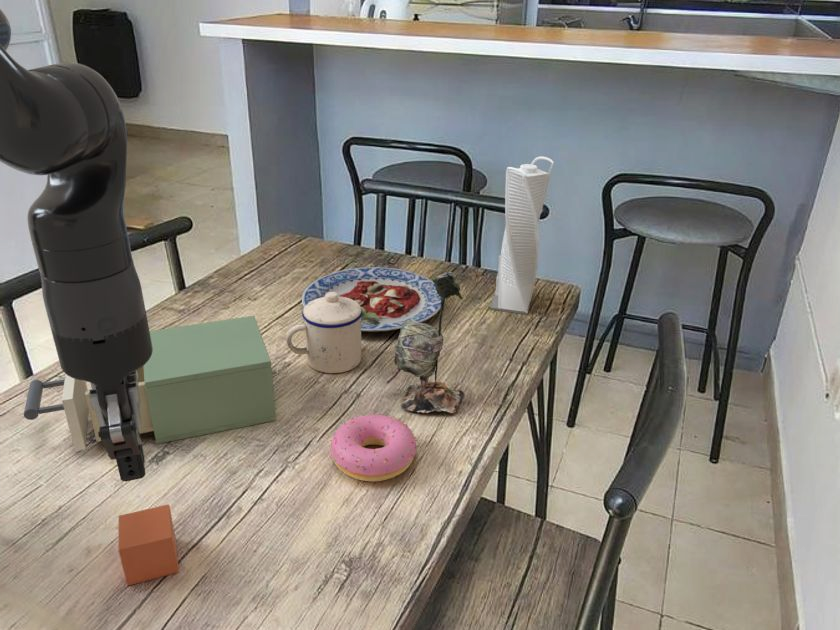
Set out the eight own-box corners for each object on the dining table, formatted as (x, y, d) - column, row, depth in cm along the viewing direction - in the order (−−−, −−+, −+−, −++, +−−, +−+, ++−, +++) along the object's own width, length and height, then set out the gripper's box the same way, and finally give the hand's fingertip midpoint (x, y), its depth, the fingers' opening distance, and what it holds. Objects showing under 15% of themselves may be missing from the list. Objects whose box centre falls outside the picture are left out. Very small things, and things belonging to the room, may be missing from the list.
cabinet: (156, 444, 89) (144, 382, 84) (152, 389, 100) (141, 331, 95) (276, 420, 94) (270, 361, 89) (259, 370, 105) (254, 315, 101)
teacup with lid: (351, 341, 114) (349, 277, 108) (371, 367, 106) (370, 301, 101) (280, 355, 109) (275, 289, 104) (296, 384, 102) (291, 315, 96)
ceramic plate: (347, 267, 140) (347, 254, 139) (464, 293, 131) (465, 279, 130) (273, 320, 119) (272, 305, 118) (405, 355, 110) (406, 339, 109)
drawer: (30, 460, 84) (14, 408, 80) (40, 405, 94) (26, 356, 91) (195, 428, 90) (187, 378, 87) (187, 379, 101) (180, 333, 97)
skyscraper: (539, 299, 129) (556, 152, 116) (534, 318, 122) (552, 164, 109) (495, 293, 131) (507, 148, 118) (488, 312, 124) (500, 160, 111)
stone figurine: (403, 376, 104) (405, 256, 95) (471, 396, 100) (480, 272, 91) (377, 403, 98) (376, 277, 89) (449, 426, 94) (456, 295, 84)
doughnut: (326, 437, 91) (325, 412, 89) (406, 428, 93) (407, 402, 91) (336, 493, 81) (334, 466, 79) (425, 481, 84) (426, 454, 82)
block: (127, 586, 69) (118, 550, 67) (126, 550, 73) (118, 515, 71) (179, 572, 70) (172, 537, 68) (175, 538, 75) (169, 503, 72)
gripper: (55, 287, 63) (93, 438, 71) (42, 360, 51) (89, 530, 59) (142, 276, 65) (169, 423, 73) (147, 344, 54) (179, 509, 62)
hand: (133, 471), depth 66 cm, fingers closed
